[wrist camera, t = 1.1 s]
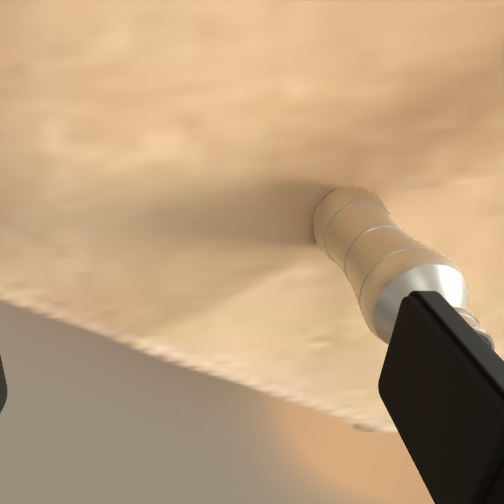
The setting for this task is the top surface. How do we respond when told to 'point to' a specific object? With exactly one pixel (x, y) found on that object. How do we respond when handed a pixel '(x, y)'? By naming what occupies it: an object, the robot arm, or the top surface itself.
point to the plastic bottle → (384, 260)
